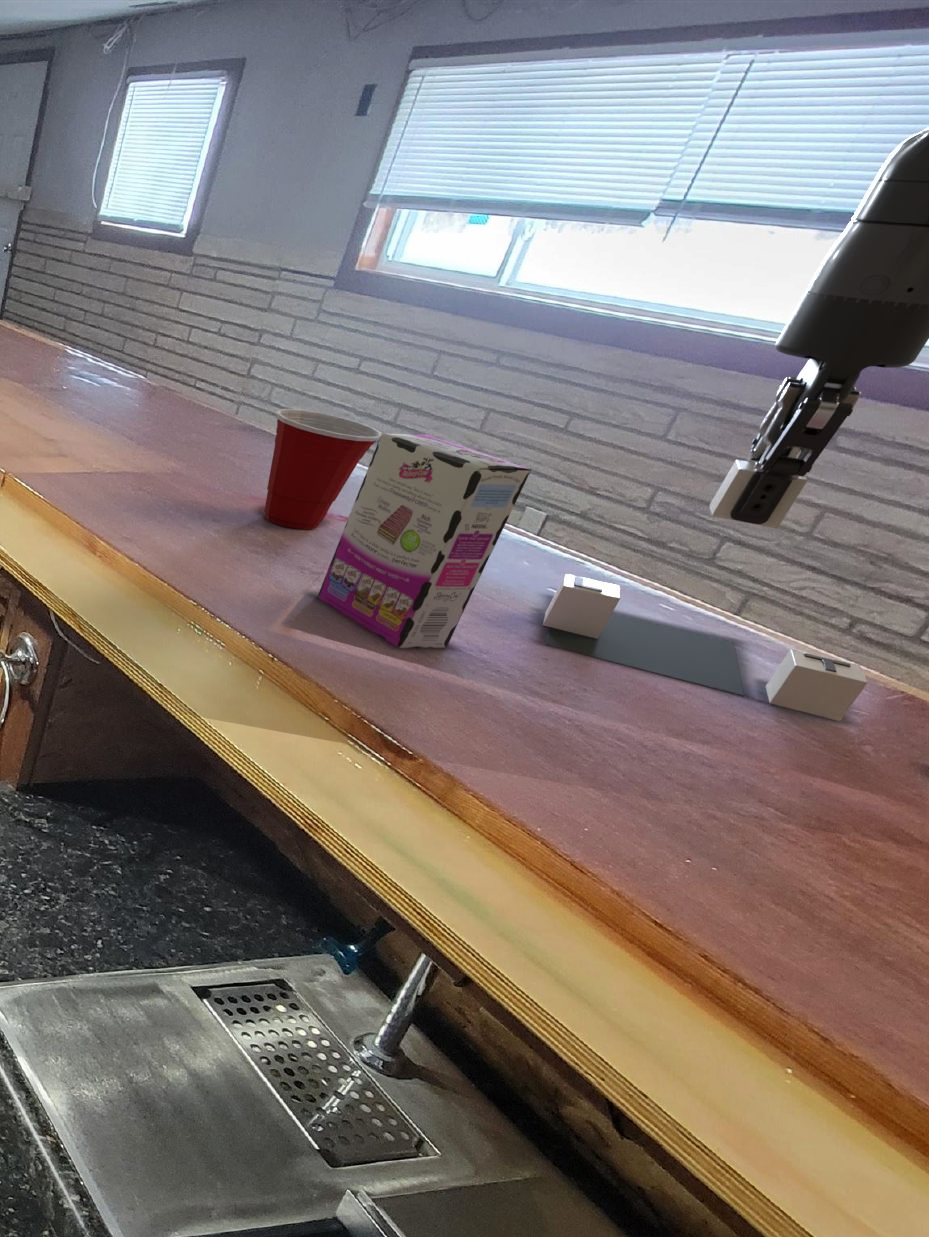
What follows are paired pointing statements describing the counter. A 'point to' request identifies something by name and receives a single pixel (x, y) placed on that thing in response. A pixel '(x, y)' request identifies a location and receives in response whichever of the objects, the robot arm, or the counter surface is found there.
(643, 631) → the word mat
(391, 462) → the candy bar box
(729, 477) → the tile
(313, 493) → the plastic cup
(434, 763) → the counter surface
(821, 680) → the tile
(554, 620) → the tile
